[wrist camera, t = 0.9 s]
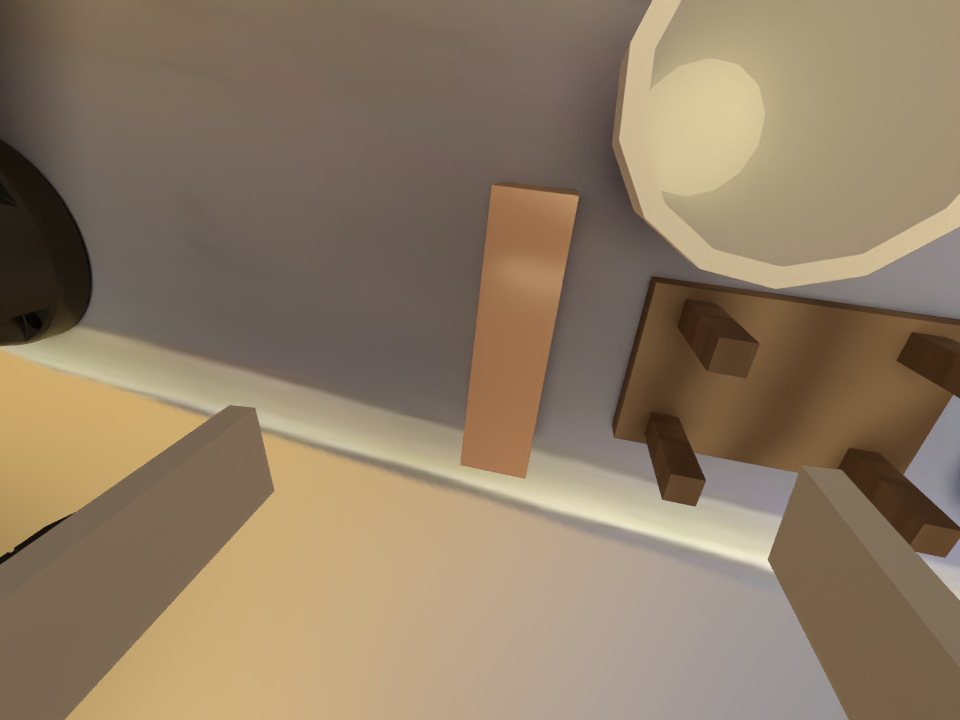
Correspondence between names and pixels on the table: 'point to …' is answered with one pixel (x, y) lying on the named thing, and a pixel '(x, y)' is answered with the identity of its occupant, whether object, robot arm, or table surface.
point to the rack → (791, 393)
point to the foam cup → (793, 133)
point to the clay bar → (515, 322)
